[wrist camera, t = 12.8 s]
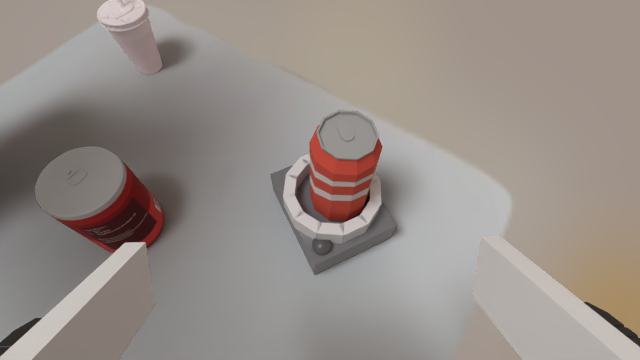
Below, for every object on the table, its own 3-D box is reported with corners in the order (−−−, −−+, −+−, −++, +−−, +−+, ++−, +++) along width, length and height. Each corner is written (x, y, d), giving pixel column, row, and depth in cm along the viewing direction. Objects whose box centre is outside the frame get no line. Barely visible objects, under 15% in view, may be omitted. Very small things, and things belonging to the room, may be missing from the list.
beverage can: (354, 169, 41) (369, 99, 31) (372, 217, 38) (395, 157, 28) (305, 180, 40) (303, 111, 30) (319, 230, 37) (322, 172, 27)
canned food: (118, 190, 44) (65, 137, 34) (177, 204, 43) (139, 154, 33) (84, 246, 40) (13, 205, 30) (148, 263, 39) (95, 226, 30)
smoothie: (177, 55, 56) (140, -34, 44) (161, 83, 53) (116, -4, 41) (140, 49, 56) (93, -41, 44) (121, 77, 53) (65, -12, 41)
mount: (272, 190, 44) (266, 163, 38) (343, 161, 47) (348, 131, 41) (313, 275, 39) (313, 258, 33) (391, 237, 41) (404, 215, 36)
